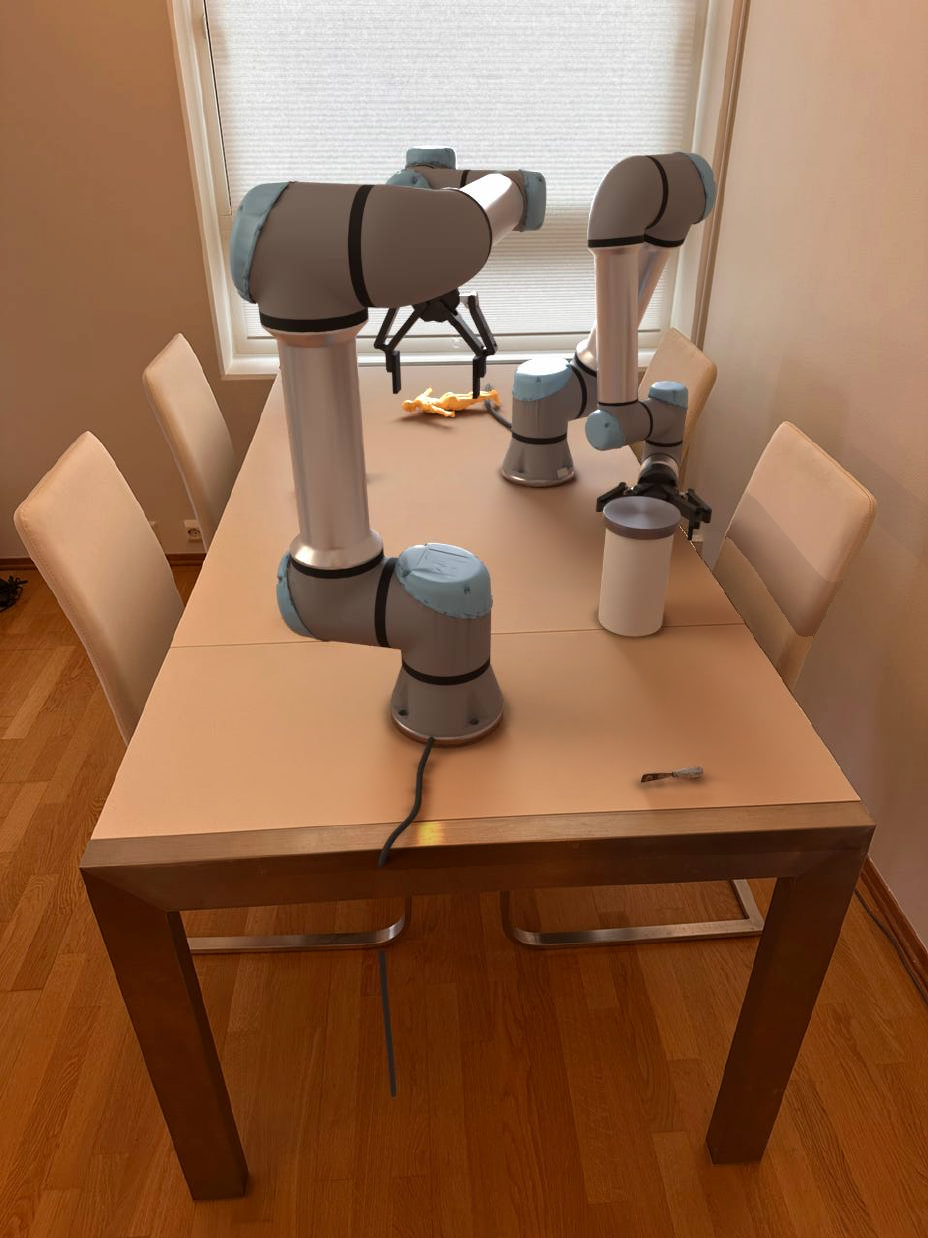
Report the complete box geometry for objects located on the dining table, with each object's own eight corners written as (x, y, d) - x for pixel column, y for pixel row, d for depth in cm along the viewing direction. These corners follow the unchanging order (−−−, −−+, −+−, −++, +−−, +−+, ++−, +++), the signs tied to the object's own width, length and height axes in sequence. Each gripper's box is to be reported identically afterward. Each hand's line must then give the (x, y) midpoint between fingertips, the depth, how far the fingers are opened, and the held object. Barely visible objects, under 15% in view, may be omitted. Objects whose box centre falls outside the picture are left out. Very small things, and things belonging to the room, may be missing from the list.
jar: (671, 614, 142) (686, 510, 133) (647, 643, 135) (660, 535, 125) (614, 597, 147) (624, 495, 137) (587, 624, 140) (596, 519, 130)
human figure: (395, 413, 223) (394, 398, 221) (438, 390, 237) (438, 375, 235) (462, 429, 215) (462, 413, 213) (502, 404, 229) (503, 388, 227)
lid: (690, 517, 133) (692, 506, 132) (662, 546, 125) (663, 535, 124) (621, 500, 139) (622, 490, 138) (589, 528, 131) (590, 517, 130)
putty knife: (703, 777, 109) (705, 767, 109) (642, 788, 108) (644, 777, 107) (700, 772, 110) (702, 762, 109) (639, 782, 109) (640, 771, 108)
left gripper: (517, 257, 139) (513, 391, 150) (363, 252, 143) (371, 382, 154) (509, 266, 133) (506, 405, 144) (348, 260, 137) (358, 396, 148)
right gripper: (722, 505, 170) (721, 556, 152) (591, 492, 175) (576, 541, 157) (728, 468, 166) (728, 516, 148) (593, 456, 171) (578, 502, 153)
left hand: (436, 394), depth 149 cm, fingers open, 13 cm apart
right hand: (649, 529), depth 153 cm, fingers open, 13 cm apart
